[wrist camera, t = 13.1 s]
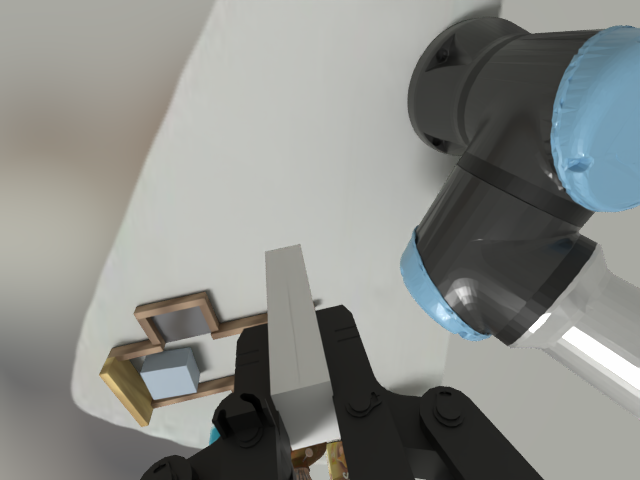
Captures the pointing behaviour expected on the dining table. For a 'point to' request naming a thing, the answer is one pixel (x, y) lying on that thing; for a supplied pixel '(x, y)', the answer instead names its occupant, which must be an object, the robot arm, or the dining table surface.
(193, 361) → the slate block
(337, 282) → the dining table surface
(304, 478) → the oil lamp
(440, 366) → the dining table surface
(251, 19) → the dining table surface
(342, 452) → the candy box
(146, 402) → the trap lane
